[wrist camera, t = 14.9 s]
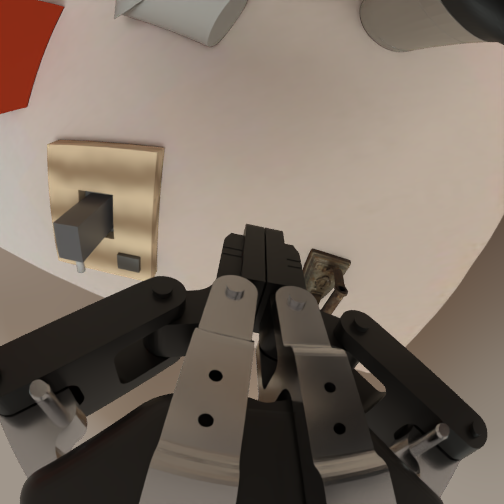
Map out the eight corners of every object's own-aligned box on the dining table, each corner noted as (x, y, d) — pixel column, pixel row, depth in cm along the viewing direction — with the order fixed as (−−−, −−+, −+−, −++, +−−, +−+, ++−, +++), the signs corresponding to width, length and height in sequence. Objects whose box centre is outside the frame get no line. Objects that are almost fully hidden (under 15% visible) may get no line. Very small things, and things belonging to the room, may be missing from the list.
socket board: (58, 140, 32) (44, 145, 29) (164, 148, 34) (155, 153, 31) (66, 251, 43) (56, 262, 39) (156, 271, 44) (149, 285, 41)
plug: (90, 192, 36) (52, 222, 27) (113, 195, 36) (77, 226, 28) (94, 239, 40) (63, 276, 32) (115, 243, 40) (86, 281, 32)
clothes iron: (351, 254, 43) (366, 306, 36) (319, 294, 50) (327, 342, 43) (313, 244, 41) (325, 299, 34) (285, 288, 48) (289, 338, 42)
